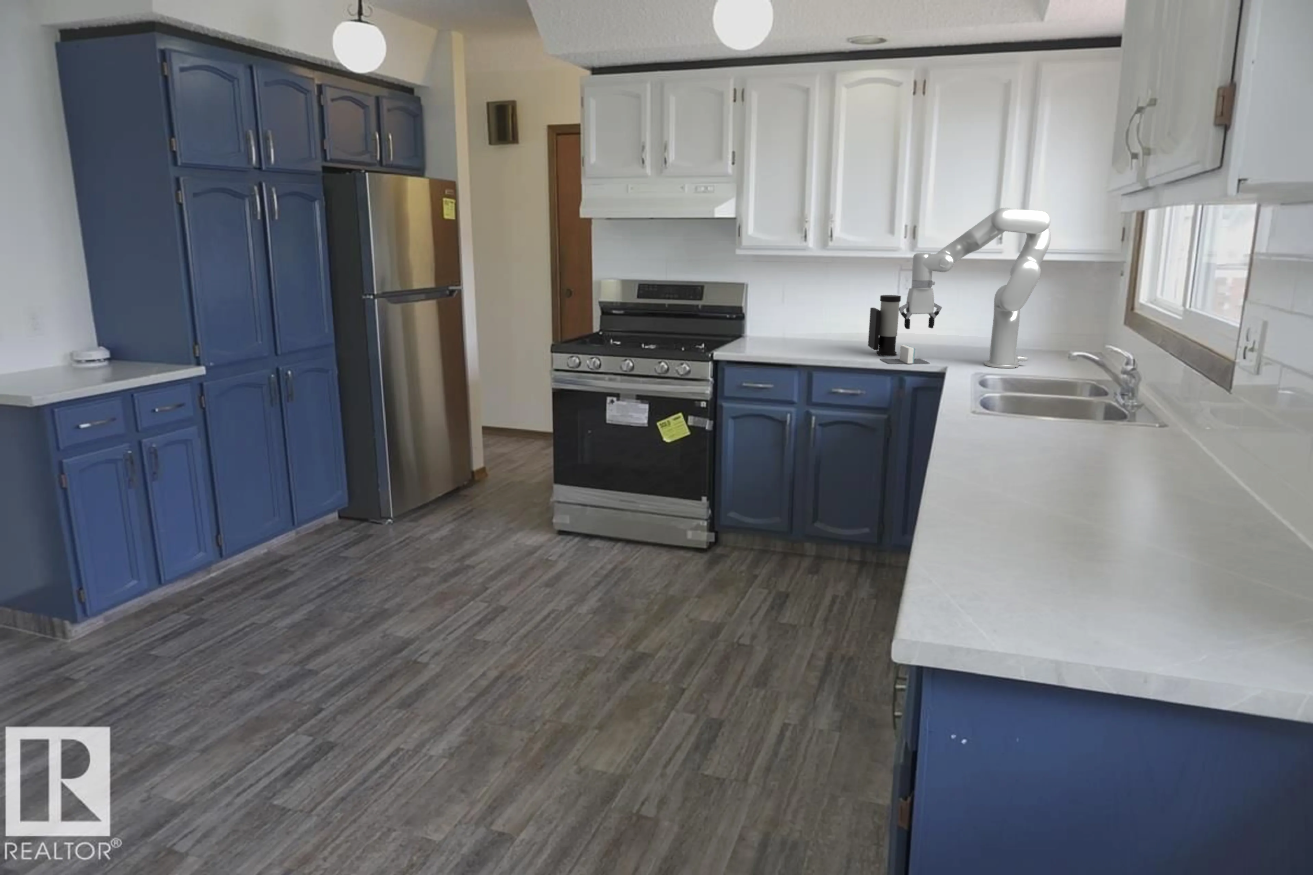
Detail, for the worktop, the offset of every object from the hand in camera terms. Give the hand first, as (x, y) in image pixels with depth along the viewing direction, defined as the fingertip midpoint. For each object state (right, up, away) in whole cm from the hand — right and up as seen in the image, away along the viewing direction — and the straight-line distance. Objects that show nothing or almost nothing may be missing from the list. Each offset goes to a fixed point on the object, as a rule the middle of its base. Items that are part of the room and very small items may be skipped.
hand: (919, 328), depth 348 cm
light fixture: (-8, -8, +23) cm, 26 cm away
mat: (-4, -13, +5) cm, 14 cm away
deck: (-4, -13, +3) cm, 14 cm away
